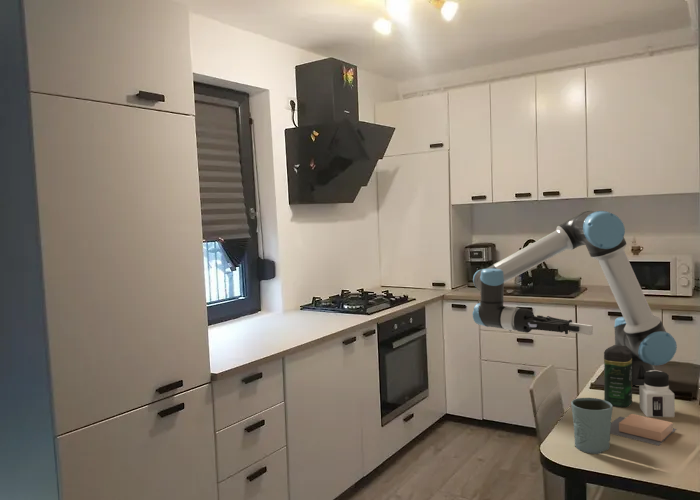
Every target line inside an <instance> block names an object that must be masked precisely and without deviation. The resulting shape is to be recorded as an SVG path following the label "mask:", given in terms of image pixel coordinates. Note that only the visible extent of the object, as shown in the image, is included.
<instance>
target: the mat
mask: <svg viewBox="0 0 700 500" xmlns="http://www.w3.org/2000/svg"><path fill="white" fill-rule="evenodd" d="M625 418H626V417H624V416H618V417H617V418H615V419H614V420H613V421H611V428H610V435H614V436H618V437H623V438H626V439H631V440H634V441H639V442H643V443H647V444H650V445H655V446H660V445H662V443H663V442H665V441H666V440H667V439H668V438H669V437H670V436H671V435H672V434H673V433H674V432H675V431H676V430H677V428H673V431H672V432H671V433H670V434H669V435H668V436H667V437H666V438H665V439H663V440H662V441H657V440H653V439H649V438H645V437H641V436H637V435H632V434H628V433H624V432H620V431H619V423H620V422H621V421H622V420H624V419H625Z"/></svg>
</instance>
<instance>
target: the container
mask: <svg viewBox="0 0 700 500" xmlns="http://www.w3.org/2000/svg"><path fill="white" fill-rule="evenodd" d="M669 379H670V376H669V374H668V373H667V372H665V371H662V370H657V369H655V370H650V371H647V372H645V373H644V385H640V386H639V387H638V388H639V389H638V390H639V392H638V395H639V409H640V410H641V412H642V413H643V414H644V415H645V417H649V418H675V416H676V415H675V414H676V413H675V407H676V405H675V393H674V392H673V391H672V390H671V389H670V383H669V381H670V380H669Z"/></svg>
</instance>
